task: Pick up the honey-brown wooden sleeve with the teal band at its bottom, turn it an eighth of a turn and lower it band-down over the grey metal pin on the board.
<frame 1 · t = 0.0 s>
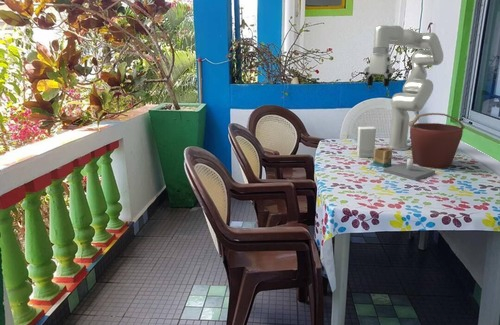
hand: (377, 85, 198), 37 cm above the table, tool pointing down, fingers open, 9 cm apart
skincare box: (365, 156, 204), on the table
wooden sleeve: (381, 165, 187), on the table
pin board: (408, 172, 175), on the table
bucket: (430, 163, 190), on the table
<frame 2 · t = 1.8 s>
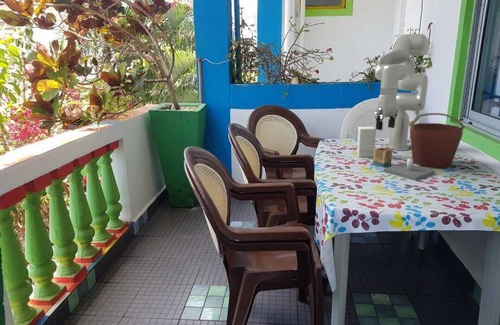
hand: (385, 128, 182), 18 cm above the table, tool pointing down, fingers open, 9 cm apart
nothing on the table moved.
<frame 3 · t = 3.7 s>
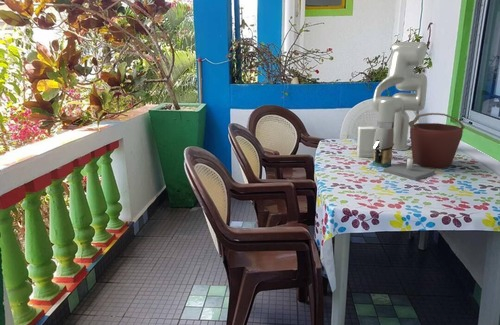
hand: (382, 161, 187), 2 cm above the table, tool pointing down, fingers closed on wooden sleeve, 6 cm apart
wooden sleeve: (381, 165, 187), on the table, touching gripper
everything else where it was.
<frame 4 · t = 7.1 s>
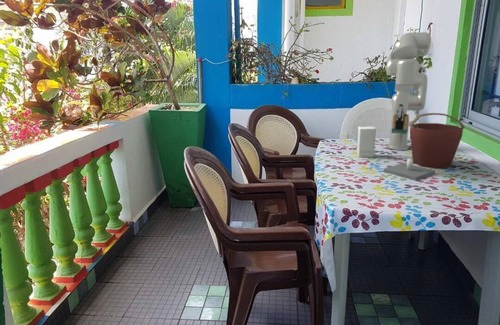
hand: (399, 127, 175), 20 cm above the table, tool pointing down, fingers closed on wooden sleeve, 6 cm apart
wooden sleeve: (399, 132, 176), point 18 cm above the table, touching gripper
everything else where it was.
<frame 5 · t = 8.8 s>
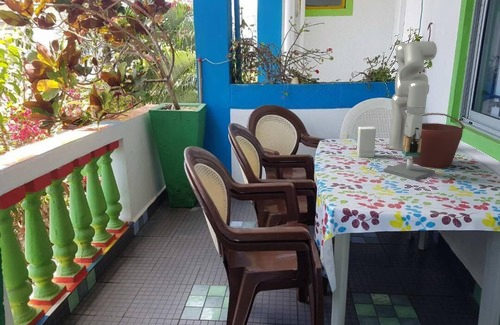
hand: (411, 150, 172), 11 cm above the table, tool pointing down, fingers closed on wooden sleeve, 6 cm apart
wooden sleeve: (410, 154, 173), point 9 cm above the table, touching gripper
everything else where it was.
when the fingers open (5 cm above the table, at t = 10.5 s): wooden sleeve drops 1 cm, resting on pin board.
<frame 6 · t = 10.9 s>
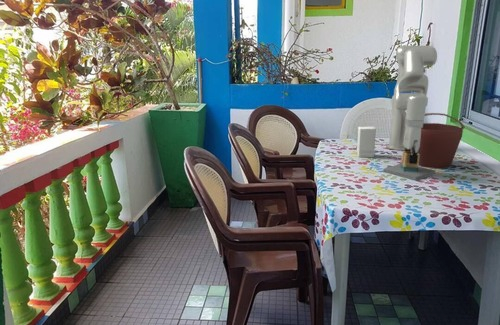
hand: (410, 160, 173), 6 cm above the table, tool pointing down, fingers open, 9 cm apart
wooden sleeve: (409, 169, 175), point 1 cm above the table, touching pin board
everything else where it was.
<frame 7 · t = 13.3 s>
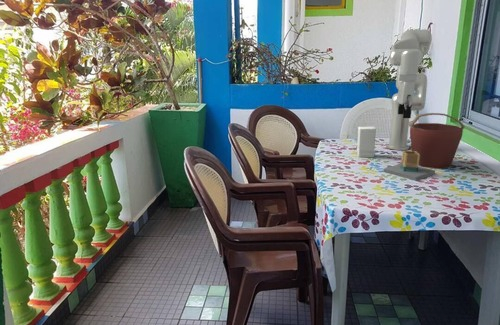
hand: (403, 116, 177), 25 cm above the table, tool pointing down, fingers open, 9 cm apart
nothing on the table moved.
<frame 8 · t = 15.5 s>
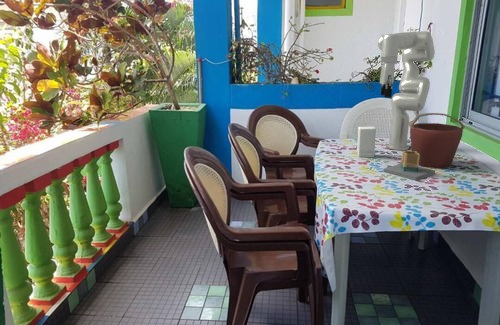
hand: (385, 96, 190), 32 cm above the table, tool pointing down, fingers open, 9 cm apart
nothing on the table moved.
at the end: wooden sleeve 0.1 cm off-centre on the pin board, point 1.5 cm above the pin board's base; wooden sleeve tilted 0°; the gripper is holding nothing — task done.
